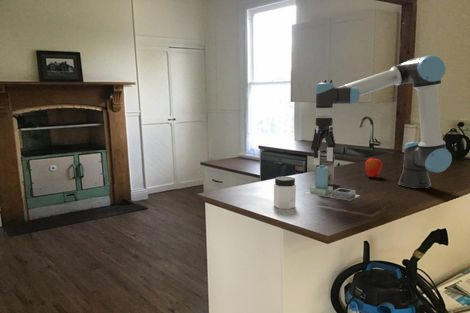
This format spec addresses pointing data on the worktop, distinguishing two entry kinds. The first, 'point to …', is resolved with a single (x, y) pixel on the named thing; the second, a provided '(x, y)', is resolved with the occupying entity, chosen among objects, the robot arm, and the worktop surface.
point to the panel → (334, 193)
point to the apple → (373, 167)
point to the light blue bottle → (321, 177)
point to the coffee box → (330, 167)
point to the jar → (284, 192)
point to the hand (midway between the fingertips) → (323, 163)
